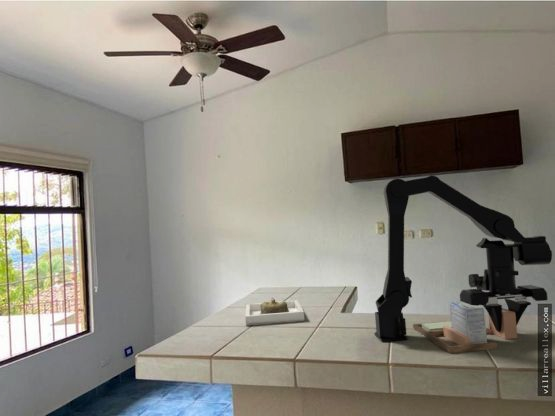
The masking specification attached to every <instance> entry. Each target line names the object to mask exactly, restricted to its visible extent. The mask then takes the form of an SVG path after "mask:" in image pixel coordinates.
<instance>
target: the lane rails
mask: <svg viewBox="0 0 555 416" xmlns="http://www.w3.org/2000/svg"><path fill="white" fill-rule="evenodd" d="M449 321H450V320H449ZM449 321H448V320H447V321H444V322H449ZM437 322H438V321H437ZM437 322H436V321H435V322H433V323H437ZM422 324H426V322H425V323H413V324H412V328H414V329H415V331H416V332H417V331H418V333H419V332H420V333H421V334H420V333H419V334H420V335H422V336H423V335H424V336H423V337H424V338H426V337H427V339H428V340H429V339H430V340H429V341H431V342H432V341H433V342H432V343H434V344H435V343H436V344H435V345H437V346H438V347H440V348H442V350H445V351H446V352H447V353H449V354H454V353H464V352H476V351H486V350H487V351H489V350H497V349H498V344H497V342H495V341H494V342H492V341H491V342H487V343H480V344H469V345H458V344H457V345H449V343H447V342H445V341H444V340H442V339H440V338H439V337H442V336H443V337H444V331H443V330H433V331H426V330H425V329H423V328H422ZM414 329H413V330H414Z"/></svg>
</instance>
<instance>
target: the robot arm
mask: <svg viewBox="0 0 555 416" xmlns="http://www.w3.org/2000/svg"><path fill="white" fill-rule="evenodd" d="M426 193H428V194H430V195H431V196H434V197H435V198H437V199H438V200H440V201H441V202H443V203H445V205H448V206H449V207H451V208H452V209H454V210H456V211H457V212H459V213H460V214H462V215H464V216H465V217H466V218H468V219H469V220H470V221H471V222H472V223H473V224H474V225H475V226H476V227H477V228H478V229H479V230H480V231H481V232H482V233H483V234H484V235H486V236H488V237H490V238H496V239H500V240H489V239H488V238H485V237H482V240H480V241H479V242H478V243H476V245H475V246H476V247H477V248H479V249H485V252H486V254H485V255H486V265H487V266H486V267H487V268H486V269H484V271H483V275H482V276H481V275H479V274H478V273H471V274H469V275H468V284H469V285H468V286H469V287H470V288H471V289H470V288H469V289H462V290H461V291H460V293H459V299H460V300H459V301H462V302H464V303H467V304H470V305H478V306H482V307H483V308H484V310H486V312H487V314H488V316H489V315H490V318H491V320H492V322H493V324H494V326H495V329H496V331H498V332H501V324H502V308H503V307H502V306H503V305H502V304H500V303H499V302H498V300H504V302H505V303H506V306H507V310H510V311H513V312H515V316H516V327H517V326H518V324H519V322H520V320H521V318H522V315H523V314H524V313H525V311H526V309H527V308H528V306H531V305H532V302H530V301H528V298H532V300H534V301H535V302H538V301H539V302H541V301H548V298H549V296H548V292H547V291H546V289H545V288H544V287H542V286H536V285H532V284H528V285H524V284H523V285H516V276H519V270H515V262H517V263H519V265H521V266H538V265H550V264H551V262H552V258H553V251H552V250H551V247H550V245H549V243H548V242H547V238H546V236H545V235H534V236H523V235H524V234H522V233H521V232H520V231H519V230H518V229H517V228H516V226H515V221H514V219H513V218H512V216H510V215H507V214H505V213H502V212H500V211H498V210H495V209H492V208H489V207H486V206H484V205H481V204H479V203H477V202H476V201H474V200H473V199H472V198H470V197H468V196H467V195H465V194H463V193H462V192H460V191H459V190H457V189H456V188H454V187H452V186H450V185H449V184H448V183H445V182H444V181H442V180H441V179H440V178H439V177H438V176H436V175H429V176H426V177H421V178H415V179H410V180H409V179H408V180H404V179H401V178H394V179H392V180H390V181H389V182H387V184H385V186H384V188H383V195H384V201H385V206H386V211H387V215H388V218H387V220H388V221H387V222H388V223H387V231H388V233H387V238H388V239H387V248H388V249H387V252H388V253H387V271H386V275H385V280H384V284H383V290H382V294H381V295H380V296H379V297H378V298H377V299H376V300H375V306H376V309H377V311H374V316H375V318H374V319H375V332H374V336H376V337H377V338H378V339H379V340H380V341H381V342H393V341H402V340H403V341H405V340H408V337H407V336H406V335H407V326H406V325H407V322H406V318H405V317H404V312H402V311H403V308H405V307H407V305H408V304H409V302H410V301H409V300H410V298H413V296H412V291H411V288H412V285H413V284H412V283H413V282H412V280H411V279H410V277H408V276H406V275H405V214H406V211H407V207H408V203H409V197H410V196H416V195H421V194H426ZM504 241H508V242H513V243H505V242H504Z"/></svg>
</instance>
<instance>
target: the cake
mask: <svg viewBox="0 0 555 416" xmlns="http://www.w3.org/2000/svg"><path fill="white" fill-rule="evenodd" d="M285 301H286V300H284V301H283V300H282V301H276V299H275V298H274V297H272V298H271V301H264V302H261V303H262V304H261V305H260V307H261V313H260V314H272V313H284V312H289V310H288V306H287V303H286V302H285ZM278 302H280V303H278Z"/></svg>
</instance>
